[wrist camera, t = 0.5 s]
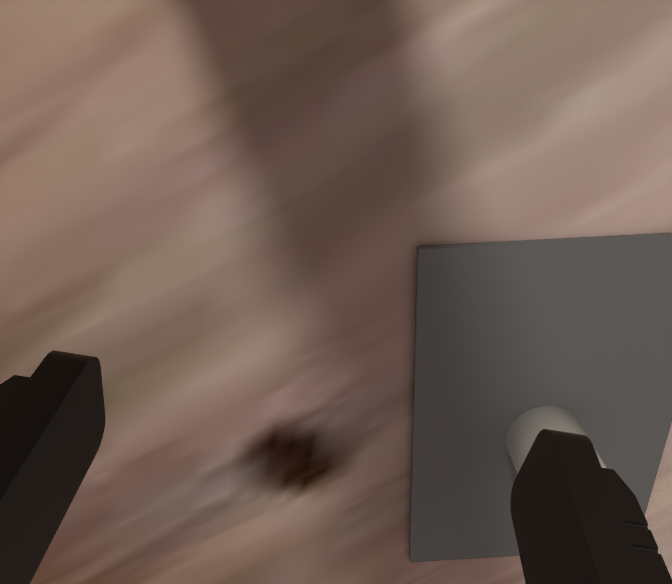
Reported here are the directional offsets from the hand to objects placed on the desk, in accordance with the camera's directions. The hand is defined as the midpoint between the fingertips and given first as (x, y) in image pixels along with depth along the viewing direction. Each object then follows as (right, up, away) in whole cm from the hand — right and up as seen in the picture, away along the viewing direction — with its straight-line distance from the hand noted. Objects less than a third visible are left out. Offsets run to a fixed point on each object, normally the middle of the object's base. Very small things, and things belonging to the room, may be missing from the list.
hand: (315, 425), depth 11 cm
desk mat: (+13, -5, +25) cm, 29 cm away
